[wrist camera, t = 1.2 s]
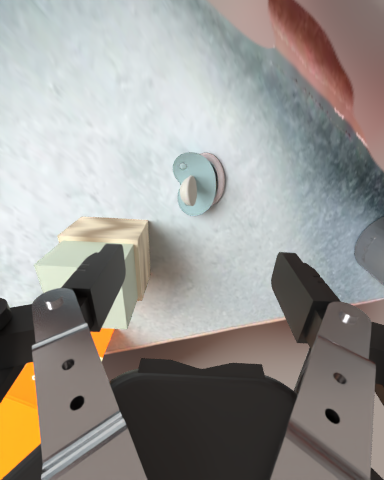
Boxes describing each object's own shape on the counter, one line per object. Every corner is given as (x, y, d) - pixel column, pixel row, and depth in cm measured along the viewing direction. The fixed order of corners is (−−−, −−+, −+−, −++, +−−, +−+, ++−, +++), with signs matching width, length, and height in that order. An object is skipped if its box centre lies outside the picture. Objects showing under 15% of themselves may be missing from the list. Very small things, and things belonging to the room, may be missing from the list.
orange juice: (70, 302, 37) (-46, 464, 19) (116, 326, 40) (50, 490, 22) (51, 326, 40) (-65, 487, 22) (94, 348, 42) (21, 508, 25)
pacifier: (221, 145, 26) (171, 152, 26) (231, 151, 20) (166, 160, 20) (225, 205, 29) (180, 211, 29) (234, 224, 24) (178, 231, 24)
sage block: (133, 243, 25) (119, 269, 21) (138, 297, 29) (127, 329, 24) (62, 240, 25) (33, 265, 21) (76, 294, 29) (54, 325, 24)
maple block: (148, 219, 30) (137, 239, 25) (150, 273, 34) (142, 300, 29) (82, 216, 30) (57, 235, 25) (92, 270, 34) (73, 297, 29)
